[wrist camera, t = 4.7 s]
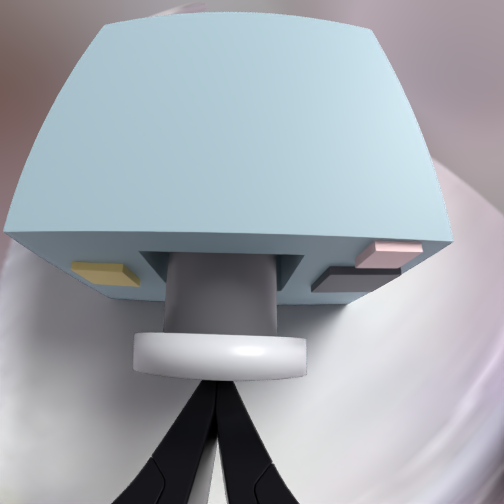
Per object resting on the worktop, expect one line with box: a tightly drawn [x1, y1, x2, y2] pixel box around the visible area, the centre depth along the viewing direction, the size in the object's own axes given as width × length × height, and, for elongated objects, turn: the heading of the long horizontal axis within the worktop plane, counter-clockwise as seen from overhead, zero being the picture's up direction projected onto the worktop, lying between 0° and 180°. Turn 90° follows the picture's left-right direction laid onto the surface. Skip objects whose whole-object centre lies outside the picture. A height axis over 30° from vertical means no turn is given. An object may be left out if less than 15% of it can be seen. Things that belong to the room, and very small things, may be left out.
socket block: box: [3, 12, 454, 305], centre depth 14 cm, size 12×14×10 cm
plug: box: [133, 252, 307, 381], centre depth 12 cm, size 14×6×6 cm, turn 0°
